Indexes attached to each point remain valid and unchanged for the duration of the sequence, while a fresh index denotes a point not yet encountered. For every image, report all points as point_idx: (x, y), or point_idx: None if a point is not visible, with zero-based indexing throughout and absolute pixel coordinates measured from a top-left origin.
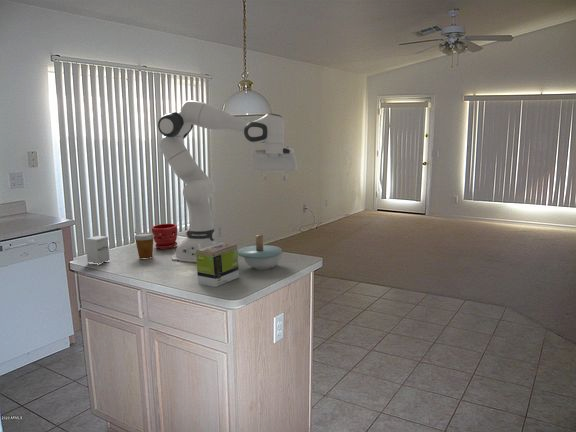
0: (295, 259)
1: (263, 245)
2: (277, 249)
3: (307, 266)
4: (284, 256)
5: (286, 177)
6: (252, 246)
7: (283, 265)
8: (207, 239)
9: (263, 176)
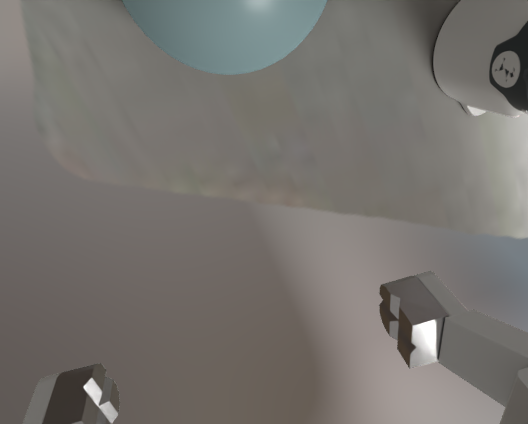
0: (138, 128)
1: (253, 65)
2: (148, 1)
3: (29, 40)
4: (199, 153)
5: (24, 422)
6: (296, 29)
7: None
8: (521, 24)
9: (460, 309)
